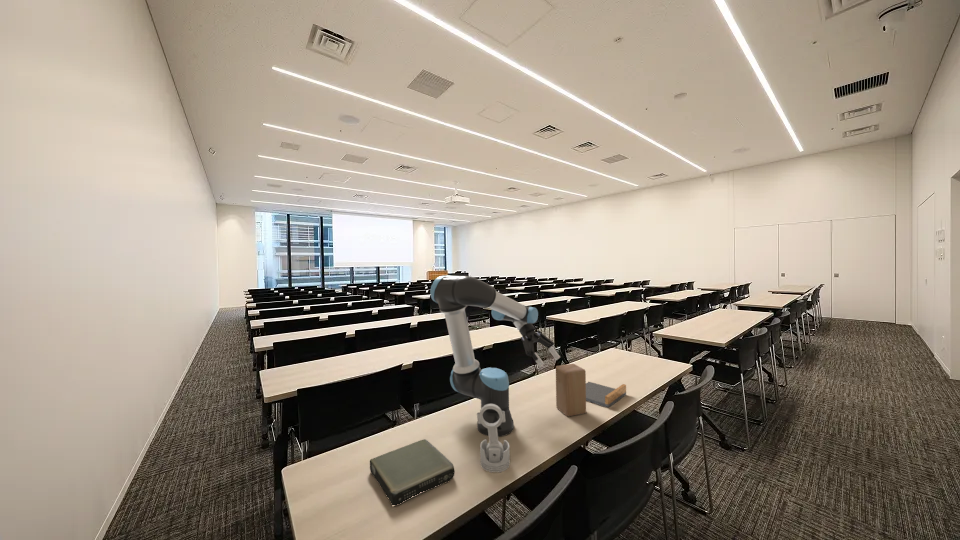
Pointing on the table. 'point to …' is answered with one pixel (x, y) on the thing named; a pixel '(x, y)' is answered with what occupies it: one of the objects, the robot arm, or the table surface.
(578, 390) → the wooden block
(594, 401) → the mounting plate
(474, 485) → the table surface
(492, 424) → the engine component
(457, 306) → the robot arm
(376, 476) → the network switch
